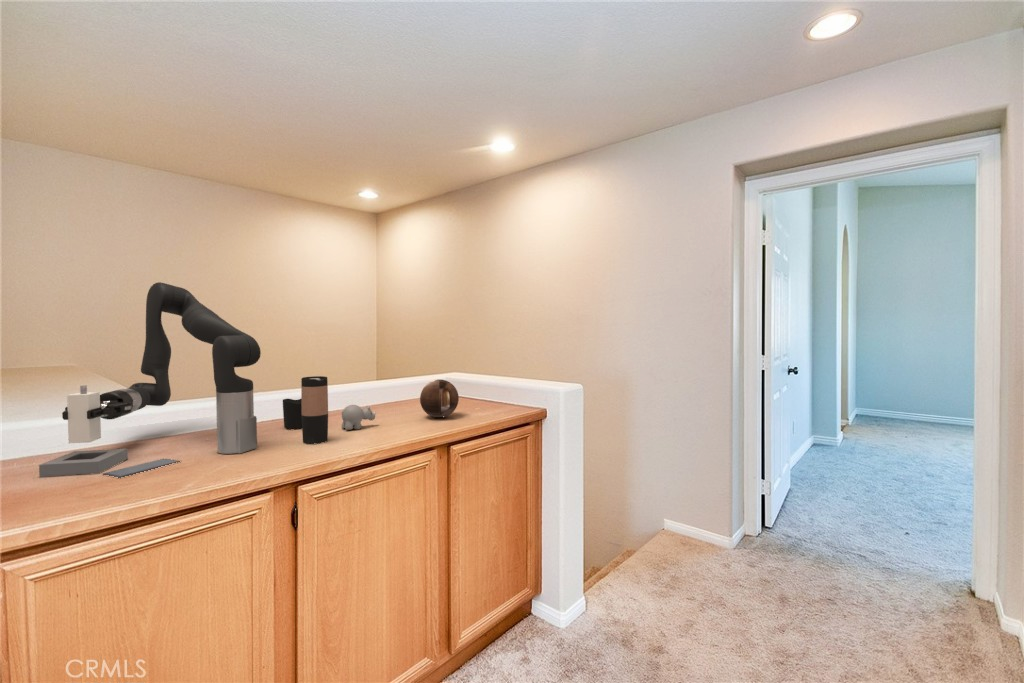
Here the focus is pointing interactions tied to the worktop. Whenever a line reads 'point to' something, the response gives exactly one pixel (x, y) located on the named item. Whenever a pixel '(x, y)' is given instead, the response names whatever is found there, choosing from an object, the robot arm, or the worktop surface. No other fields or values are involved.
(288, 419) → the pen holder
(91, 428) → the white block with peg
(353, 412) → the toy rhinoceros
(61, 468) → the block
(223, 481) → the worktop surface
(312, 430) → the travel mug
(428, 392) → the wooden sphere
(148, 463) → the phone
